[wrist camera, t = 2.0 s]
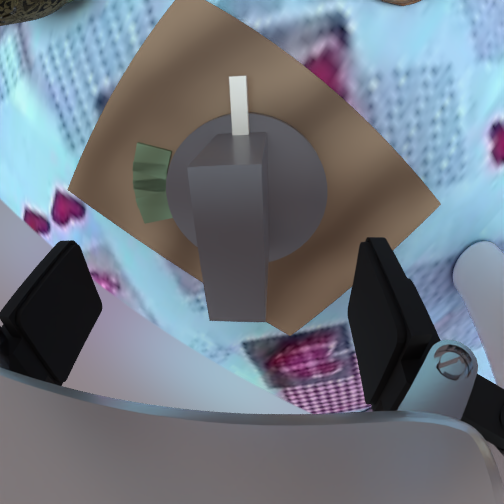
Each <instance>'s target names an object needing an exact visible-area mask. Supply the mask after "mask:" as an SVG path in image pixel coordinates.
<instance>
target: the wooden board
mask: <svg viewBox="0 0 504 504" xmlns="http://www.w3.org/2000/svg"><path fill="white" fill-rule="evenodd" d="M232 76H247V86H248V108H249V112H255V113H261V114H266V115H270V116H273V117H276V118H278V119H280V120H282V121H285V122H286V123H288V124H290V125H291V126H293V127H294V128H296V129H297V130H298V131H299V132H300V133H301V134H303V135H304V137H305V138H306V139H307V140H308V141H309V142H310V143H311V145H312V146H313V148H314V149H315V151H316V153H317V155H318V157H319V159H320V161H321V163H322V165H323V168H324V171H325V175H326V180H327V195H328V196H327V204H326V208H325V212H324V215H323V218H322V220H321V222H320V224H319V226H318V228H317V229H316V231H315V232H314V234H313V235H312V236H311V237H310V238H309V240H308V241H307V242H305V243H304V244H303V245H302V246H301V247H300V248H298V249H297V250H296V251H294V252H292V253H291V254H289V255H287V256H285V257H283V258H280V259H278V260H275V261H271V262H268V283H267V303H266V322H267V323H269V324H271V325H272V326H274V327H276V328H278V329H279V330H281V331H283V332H284V333H286V334H288V335H289V336H291V335H292V334H294V333H295V332H296V331H298V330H299V329H300V328H301V327H303V326H304V325H305V324H307V323H308V322H309V321H310V320H312V319H313V318H314V317H315V316H317V315H318V314H319V313H320V312H322V311H323V310H324V309H325V308H327V307H328V306H329V305H330V304H331V303H333V302H334V301H335V300H336V299H338V298H339V297H340V296H341V295H342V294H344V293H345V292H346V291H347V290H348V289H350V288H351V287H352V285H353V280H354V275H355V269H356V263H357V257H358V251H359V246H360V243H361V242H365V241H366V238H367V237H384V238H386V240H387V241H388V243H389V245H390V247H391V249H392V250H394V249H395V248H396V247H397V246H398V245H399V244H400V243H401V242H402V241H404V240H405V239H406V238H407V237H408V236H409V235H410V234H411V233H412V232H413V231H414V230H415V229H416V228H417V227H418V226H419V225H420V224H421V223H422V222H423V221H424V220H425V219H426V218H428V217H429V216H430V215H431V214H432V213H433V212H434V211H435V210H436V209H437V208H438V207H439V206H440V205H441V204H440V202H439V201H438V200H437V199H436V197H435V196H434V195H433V193H432V192H431V191H430V190H429V189H428V187H427V186H426V185H425V184H424V182H423V181H422V180H421V179H420V178H419V177H418V175H417V174H416V173H415V172H414V171H413V170H412V168H411V167H410V166H409V165H408V164H407V163H406V162H405V161H404V159H403V158H402V157H401V156H400V155H399V154H398V153H397V152H396V151H395V150H394V149H393V147H392V146H391V145H390V144H389V143H388V142H387V141H386V140H385V139H384V138H383V137H382V136H381V135H380V134H379V133H378V132H377V131H376V130H375V129H374V128H373V127H372V126H371V125H370V124H369V123H368V122H367V121H366V120H365V119H364V118H363V117H362V116H361V115H360V114H359V113H358V112H357V111H356V110H354V109H353V108H352V107H351V106H350V105H349V104H348V103H347V102H346V101H345V100H344V99H342V98H341V97H340V96H339V95H338V94H337V93H336V92H335V91H333V90H332V89H331V88H330V87H329V86H328V85H326V84H325V83H324V82H323V81H322V80H320V79H319V78H318V77H317V76H316V75H314V74H313V73H312V72H311V71H309V70H308V69H307V68H306V67H304V66H303V65H302V64H301V63H299V62H298V61H297V60H295V59H294V58H293V57H292V56H290V55H289V54H288V53H286V52H285V51H283V50H282V49H281V48H279V47H278V46H277V45H275V44H274V43H272V42H271V41H270V40H268V39H267V38H265V37H264V36H262V35H261V34H259V33H258V32H256V31H255V30H253V29H252V28H250V27H249V26H247V25H246V24H244V23H243V22H241V21H239V20H238V19H236V18H235V17H233V16H231V15H230V14H228V13H226V12H225V11H223V10H221V9H220V8H218V7H216V6H214V5H213V4H211V3H209V2H207V1H206V0H175V1H174V2H173V4H172V5H171V6H170V7H169V9H168V10H167V11H166V13H165V14H164V15H163V16H162V18H161V19H160V20H159V22H158V23H157V25H156V26H155V27H154V29H153V30H152V32H151V33H150V34H149V36H148V37H147V39H146V40H145V42H144V43H143V45H142V46H141V48H140V49H139V51H138V52H137V54H136V55H135V57H134V58H133V60H132V61H131V63H130V65H129V66H128V68H127V69H126V71H125V73H124V74H123V76H122V78H121V79H120V81H119V83H118V85H117V86H116V88H115V90H114V92H113V93H112V95H111V97H110V99H109V101H108V102H107V104H106V106H105V108H104V110H103V112H102V114H101V116H100V118H99V120H98V122H97V124H96V126H95V128H94V130H93V132H92V134H91V136H90V138H89V140H88V142H87V145H86V147H85V149H84V151H83V154H82V156H81V158H80V160H79V163H78V165H77V167H76V170H75V172H74V175H73V177H72V180H71V182H70V185H69V187H68V191H70V192H71V193H73V194H74V195H75V196H77V197H78V198H79V199H81V200H82V201H84V202H85V203H86V204H88V205H89V206H90V207H92V208H93V209H95V210H96V211H97V212H99V213H100V214H102V215H103V216H104V217H106V218H107V219H109V220H110V221H112V222H113V223H114V224H116V225H117V226H119V227H120V228H122V229H123V230H124V231H126V232H127V233H129V234H130V235H132V236H133V237H135V238H136V239H137V240H139V241H140V242H142V243H143V244H145V245H146V246H148V247H149V248H151V249H152V250H154V251H155V252H157V253H158V254H160V255H161V256H163V257H164V258H166V259H167V260H169V261H170V262H172V263H173V264H175V265H176V266H178V267H179V268H181V269H182V270H184V271H186V272H187V273H189V274H190V275H192V276H193V277H195V278H196V279H198V280H200V281H201V282H203V278H202V272H201V265H200V259H199V252H198V247H196V246H195V245H194V244H193V243H192V242H191V241H189V240H188V239H187V237H186V236H185V235H184V234H183V233H182V232H181V230H180V229H179V227H178V226H177V224H176V223H175V221H174V219H173V217H172V214H171V212H170V209H169V206H168V201H167V195H166V178H167V173H168V169H169V166H170V163H171V160H172V158H173V156H174V154H175V152H176V150H177V149H178V148H179V146H180V145H181V143H182V142H183V141H184V140H185V139H186V138H187V137H188V136H189V135H190V134H191V133H192V132H194V131H195V130H196V129H197V128H199V127H200V126H202V125H203V124H205V123H207V122H208V121H210V120H212V119H214V118H217V117H219V116H222V115H226V114H230V113H231V103H230V85H229V77H232Z"/></svg>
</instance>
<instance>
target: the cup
mask: <svg viewBox="0 0 504 504" xmlns="http://www.w3.org/2000/svg"><path fill="white" fill-rule="evenodd" d="M72 1H74V0H0V26H3V25H9V24H15V23H21V22H26V21H31V20H36V19H39V18H42V17H45V16H47V15H49V14H52V13H53V12H55V11H57V10H58V9H60V8H61V7H63V6H64V5H65V4H67V3H69V2H72Z"/></svg>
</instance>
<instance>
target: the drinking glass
mask: <svg viewBox="0 0 504 504" xmlns="http://www.w3.org/2000/svg"><path fill="white" fill-rule="evenodd" d="M453 283H454V286H455V288H456V290H457V292H458V293H459V295H460V296H461V298H462V300H463V302H464V304H465V306H466V308H467V310H468V312H469V315H470V317H471V319H472V321H473V324H474V326H475V328H476V331H477V333H478V335H479V338H480V340H481V343H482V346H483V348H484V351H485V353H486V356H487V359H488V362H489V364H490V367H491V370H492V373H493V376H494V379H495V381H496V384H497V386H499V387H501V388H503V389H504V253H503V252H502V251H501V250H500V248H499V247H498V246H497V245H495V244H494V243H492V242H489V241H481V242H477V243H475V244H473V245H471V246H470V247H468V248H467V249H466V250H465V251H464V252H463V253H462V254H461V255H460V257H459V258H458V260H457V262H456V264H455V267H454V270H453Z"/></svg>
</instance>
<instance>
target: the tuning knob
mask: <svg viewBox="0 0 504 504" xmlns="http://www.w3.org/2000/svg"><path fill="white" fill-rule="evenodd" d="M229 85H230V103H231V113H230V114H226V115H222V116H219V117H217V118H214V119H212V120H210V121H208V122H207V123H205V124H203V125H202V126H200V127H199V128H197V129H196V130H195V131H194V132H192V133H191V134H190V135H189V136H188V137H187V138H186V139H185V140H184V141H183V142H182V143H181V145H180V146H179V148H178V149H177V150H176V152H175V154H174V156H173V158H172V160H171V163H170V166H169V169H168V173H167V178H166V195H167V201H168V206H169V209H170V212H171V214H172V217H173V219H174V221H175V223H176V224H177V226H178V227H179V229H180V230H181V232H182V233H183V234H184V235H185V236H186V237H187V239H188V240H189V241H191V242H192V243H193V244H194V245H195V246H196V247H198V252H199V259H200V265H201V272H202V278H203V284H204V290H205V296H206V302H207V308H208V313H209V319H210V321H236V322H265V321H266V303H267V283H268V262H271V261H275V260H278V259H280V258H283V257H285V256H287V255H289V254H291V253H292V252H294V251H296V250H297V249H298V248H300V247H301V246H302V245H303V244H304V243H305V242H307V241H308V240H309V238H310V237H311V236H312V235H313V234H314V232H315V231H316V229H317V228H318V226H319V224H320V222H321V220H322V218H323V215H324V212H325V208H326V204H327V196H328V195H327V180H326V175H325V171H324V168H323V165H322V163H321V161H320V159H319V157H318V155H317V153H316V151H315V149H314V148H313V146H312V145H311V143H310V142H309V141H308V140H307V139H306V138H305V137H304V135H303V134H301V133H300V132H299V131H298V130H297V129H296V128H294V127H293V126H291V125H290V124H288V123H286V122H285V121H282V120H280V119H278V118H276V117H273V116H270V115H266V114H261V113H255V112H249V108H248V86H247V76H232V77H229Z"/></svg>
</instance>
